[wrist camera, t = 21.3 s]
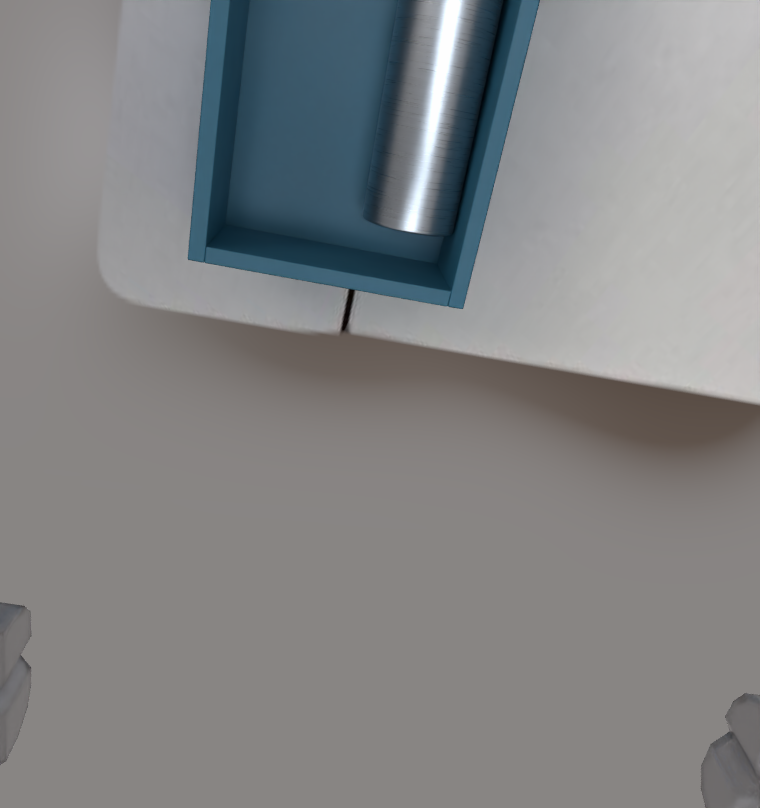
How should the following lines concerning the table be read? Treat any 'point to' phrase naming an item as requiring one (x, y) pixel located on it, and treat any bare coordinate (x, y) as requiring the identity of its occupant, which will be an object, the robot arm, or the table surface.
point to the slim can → (429, 113)
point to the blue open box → (329, 148)
